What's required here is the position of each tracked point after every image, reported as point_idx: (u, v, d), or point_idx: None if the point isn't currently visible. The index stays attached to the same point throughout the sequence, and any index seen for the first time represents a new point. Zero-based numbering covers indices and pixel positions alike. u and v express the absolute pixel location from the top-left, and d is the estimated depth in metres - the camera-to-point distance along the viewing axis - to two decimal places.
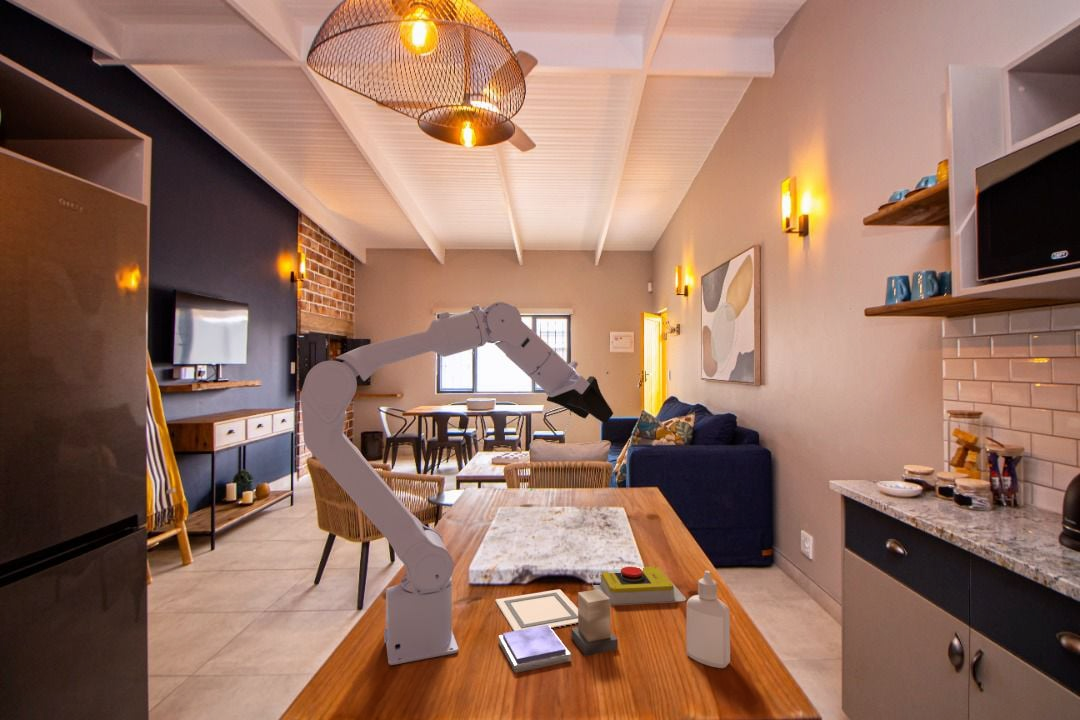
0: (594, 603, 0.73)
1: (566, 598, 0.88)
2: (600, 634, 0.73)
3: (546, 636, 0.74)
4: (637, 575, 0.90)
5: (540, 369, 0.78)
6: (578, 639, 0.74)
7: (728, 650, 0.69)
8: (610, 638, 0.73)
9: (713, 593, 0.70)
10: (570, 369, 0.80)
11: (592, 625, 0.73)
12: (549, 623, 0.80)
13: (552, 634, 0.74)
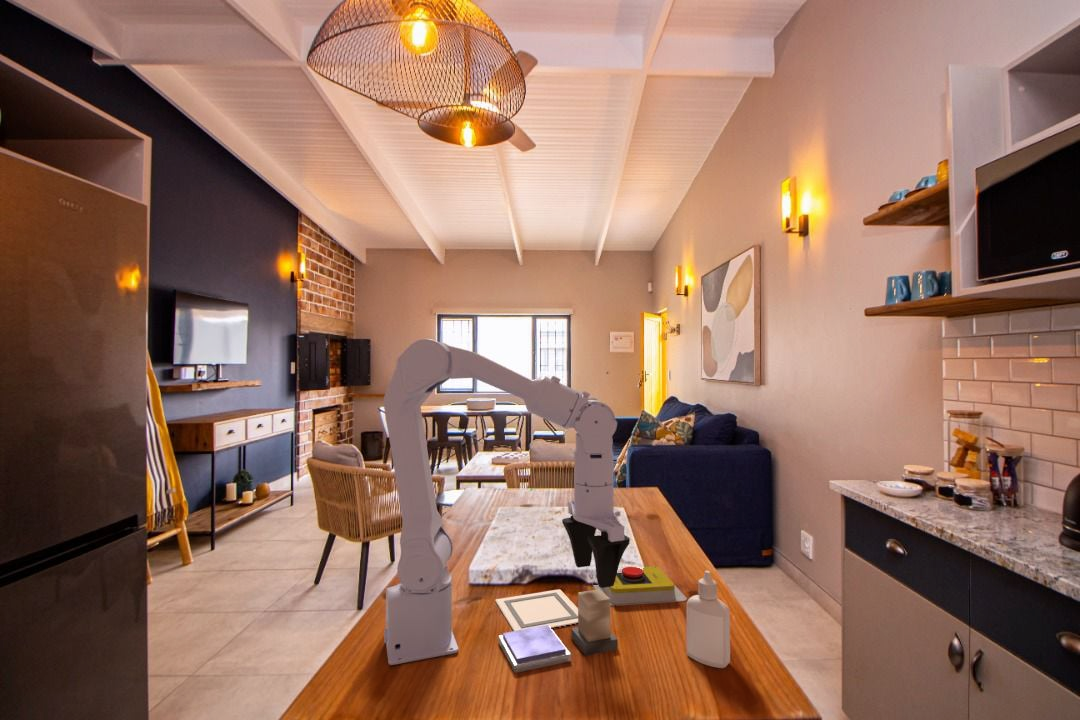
0: (594, 603, 0.73)
1: (566, 598, 0.88)
2: (600, 634, 0.73)
3: (546, 636, 0.74)
4: (638, 575, 0.90)
5: (592, 488, 0.72)
6: (578, 639, 0.74)
7: (728, 650, 0.69)
8: (610, 638, 0.73)
9: (713, 593, 0.70)
10: (612, 513, 0.74)
11: (592, 625, 0.73)
12: (549, 623, 0.80)
13: (552, 634, 0.74)
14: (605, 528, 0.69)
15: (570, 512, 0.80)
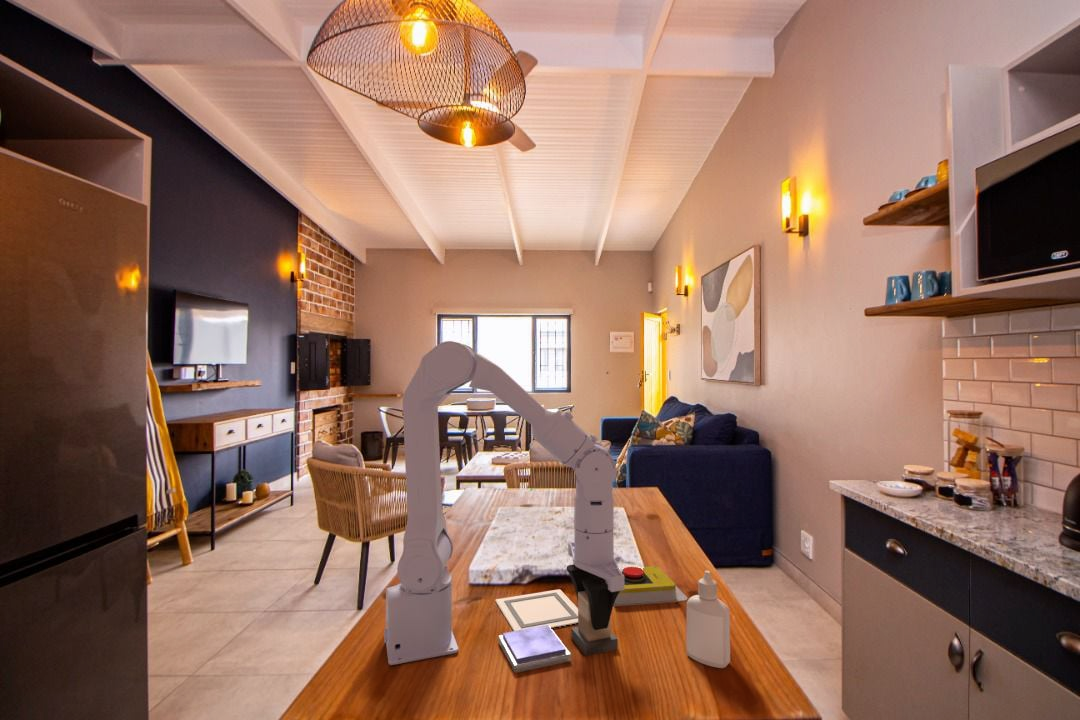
0: None
1: (566, 598, 0.88)
2: (600, 634, 0.73)
3: (546, 636, 0.74)
4: (639, 575, 0.90)
5: (592, 535, 0.72)
6: (578, 639, 0.74)
7: (728, 650, 0.69)
8: (610, 638, 0.73)
9: (713, 593, 0.70)
10: (612, 559, 0.73)
11: None
12: (549, 623, 0.80)
13: (552, 634, 0.74)
14: (605, 577, 0.69)
15: (570, 554, 0.80)
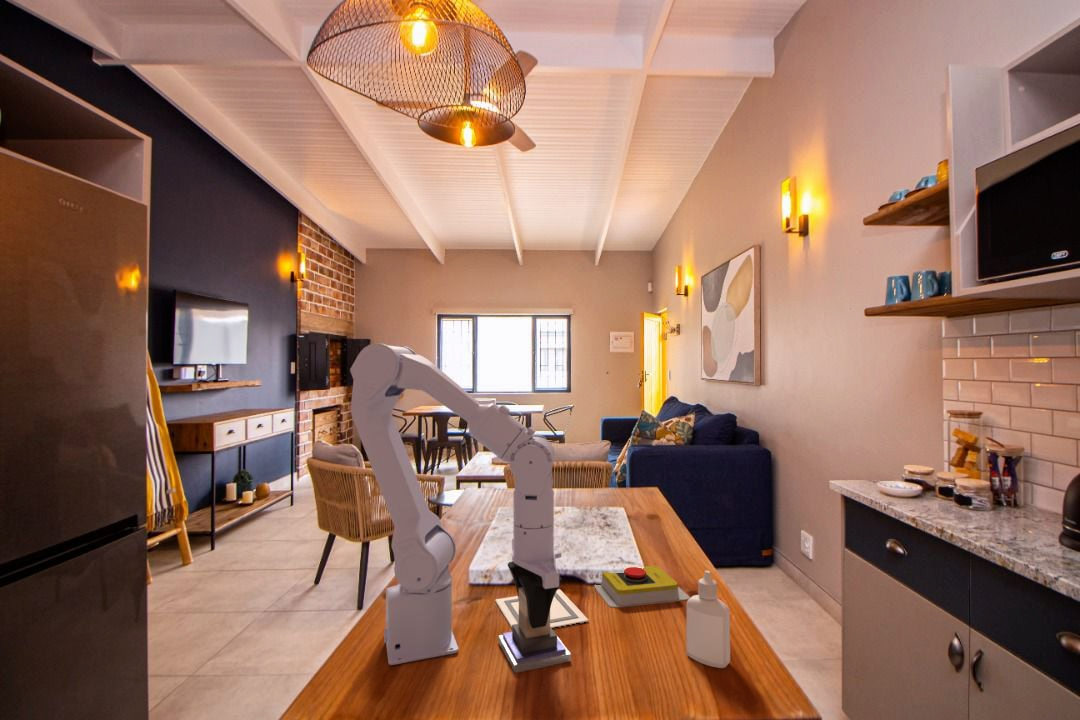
0: None
1: (566, 598, 0.88)
2: (539, 630, 0.71)
3: None
4: (641, 575, 0.90)
5: (529, 531, 0.70)
6: (517, 636, 0.71)
7: (728, 650, 0.69)
8: (549, 634, 0.71)
9: (713, 593, 0.70)
10: (551, 555, 0.71)
11: None
12: None
13: None
14: (540, 574, 0.67)
15: None
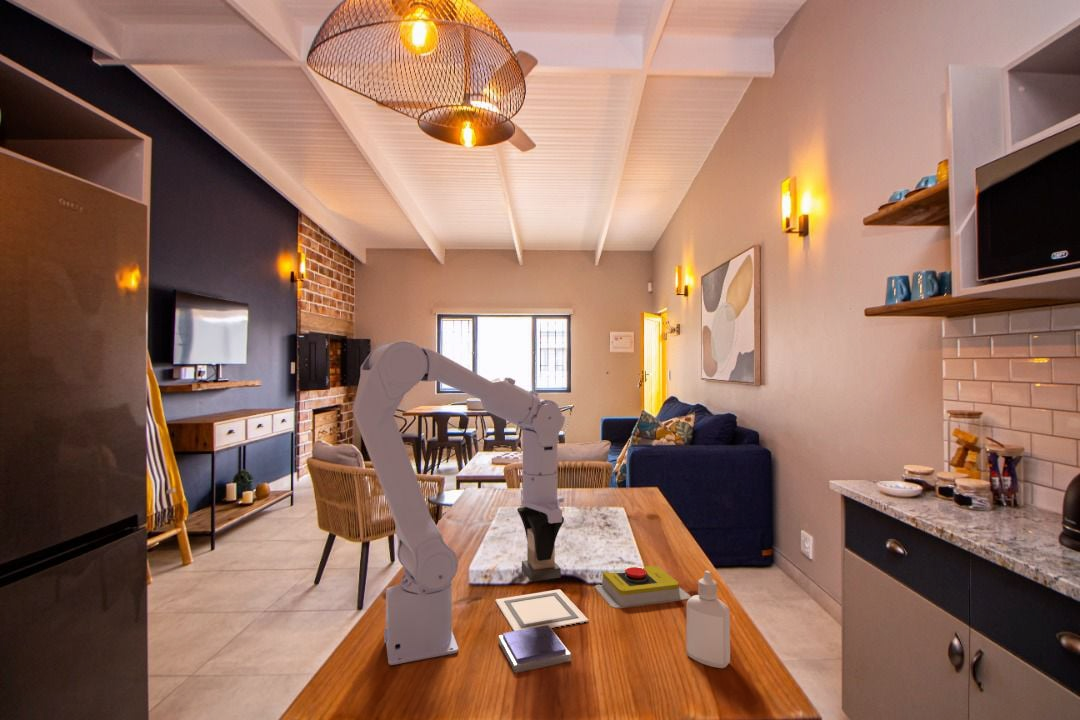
0: None
1: (566, 598, 0.88)
2: (545, 563, 0.82)
3: (546, 636, 0.74)
4: (643, 575, 0.90)
5: (536, 477, 0.81)
6: (526, 569, 0.83)
7: (728, 650, 0.69)
8: (554, 567, 0.83)
9: (713, 593, 0.70)
10: (555, 499, 0.83)
11: None
12: (549, 623, 0.80)
13: (552, 634, 0.74)
14: (545, 511, 0.78)
15: None
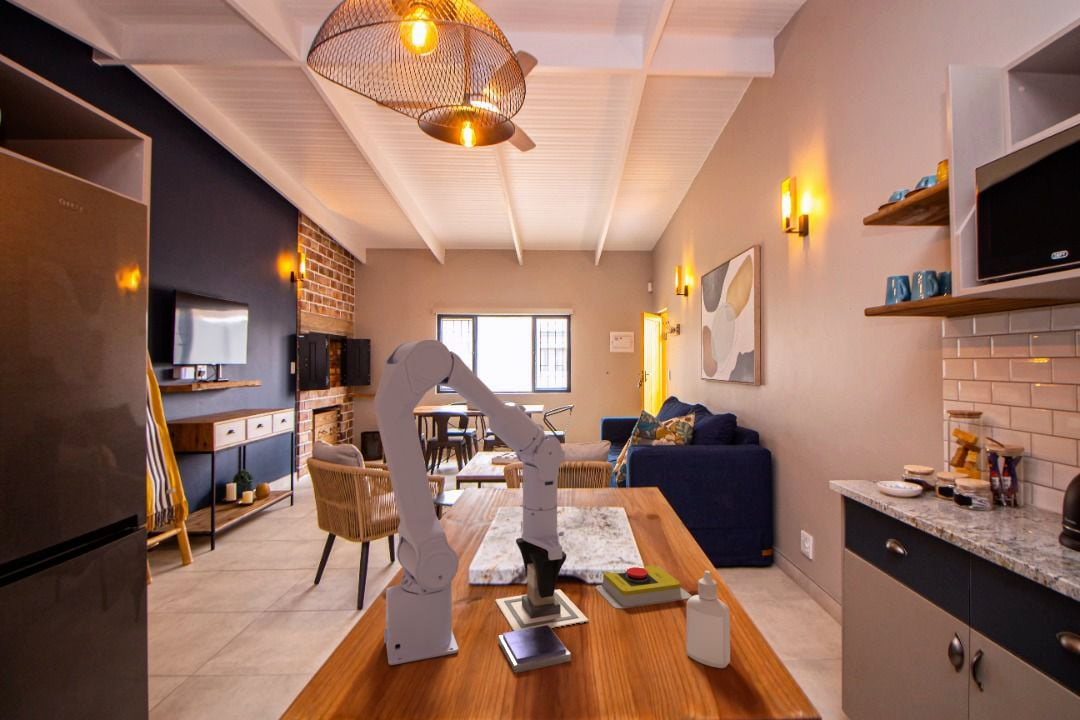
0: None
1: (566, 598, 0.88)
2: (545, 600, 0.83)
3: (546, 636, 0.74)
4: (644, 576, 0.90)
5: (537, 512, 0.82)
6: (526, 605, 0.84)
7: (728, 650, 0.69)
8: (554, 603, 0.83)
9: (713, 593, 0.70)
10: (555, 533, 0.83)
11: (538, 591, 0.83)
12: (549, 623, 0.80)
13: (552, 634, 0.74)
14: (546, 548, 0.79)
15: (522, 531, 0.90)
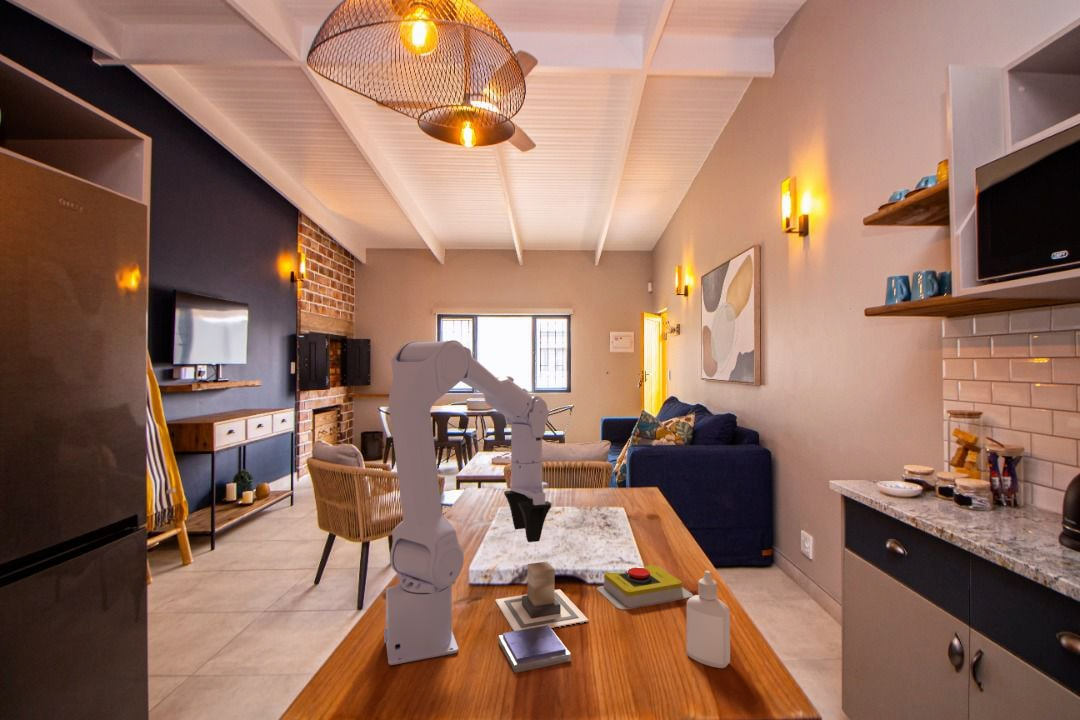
0: (539, 572, 0.83)
1: (566, 598, 0.88)
2: (545, 600, 0.83)
3: (546, 636, 0.74)
4: (646, 576, 0.90)
5: (523, 465, 0.92)
6: (526, 605, 0.84)
7: (728, 650, 0.69)
8: (554, 603, 0.83)
9: (713, 593, 0.70)
10: (540, 485, 0.93)
11: (538, 591, 0.83)
12: (549, 623, 0.80)
13: (552, 634, 0.74)
14: (531, 495, 0.89)
15: None
